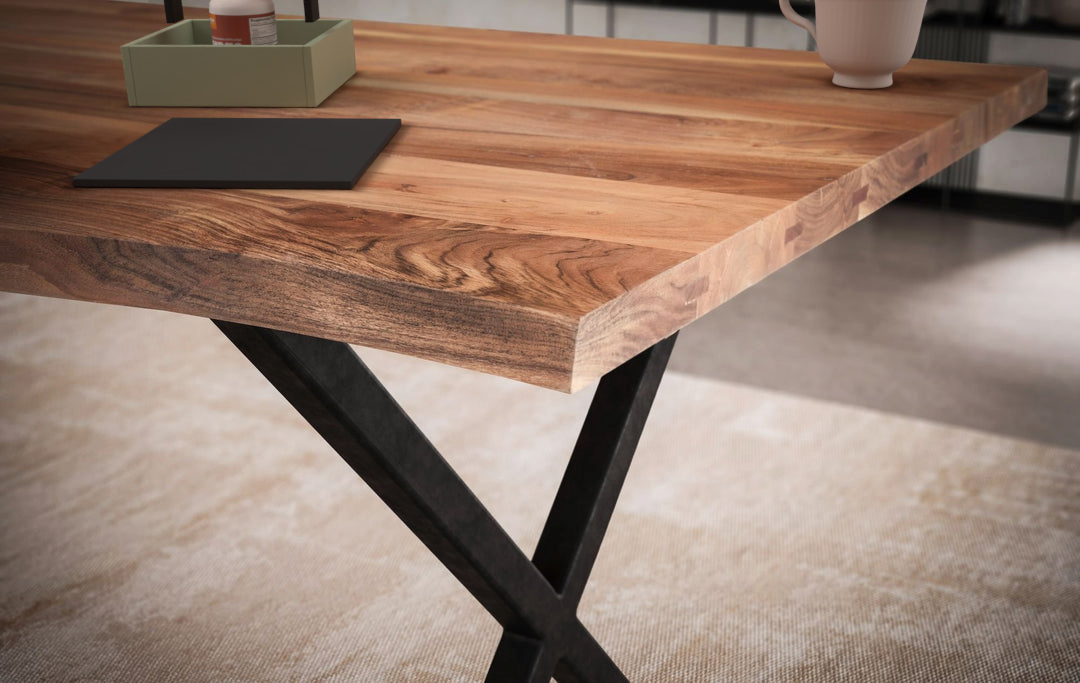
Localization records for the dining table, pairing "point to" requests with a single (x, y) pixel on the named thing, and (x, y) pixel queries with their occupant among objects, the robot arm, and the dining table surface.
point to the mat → (246, 154)
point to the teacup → (863, 37)
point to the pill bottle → (243, 22)
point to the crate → (239, 66)
